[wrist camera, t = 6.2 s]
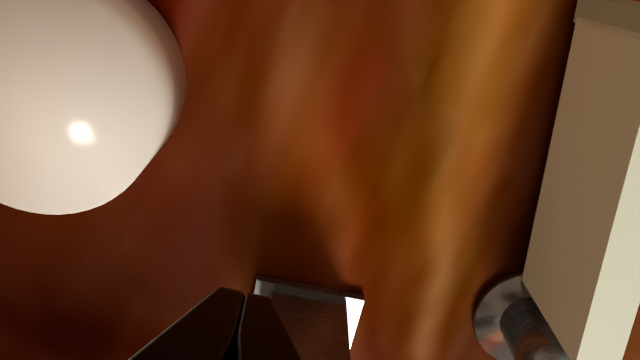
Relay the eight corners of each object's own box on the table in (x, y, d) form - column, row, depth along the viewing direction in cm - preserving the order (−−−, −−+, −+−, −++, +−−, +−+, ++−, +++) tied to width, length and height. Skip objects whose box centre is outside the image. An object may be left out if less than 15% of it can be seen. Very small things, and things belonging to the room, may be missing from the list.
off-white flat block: (555, 278, 22) (622, 373, 17) (520, 277, 22) (577, 371, 17) (621, -2, 18) (732, 17, 13) (578, -4, 18) (674, 14, 13)
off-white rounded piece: (174, 184, 21) (143, 234, 18) (-16, 146, 21) (-88, 189, 17) (200, -5, 19) (170, 7, 15) (-16, -54, 18) (-102, -55, 15)
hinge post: (556, 366, 24) (611, 463, 20) (458, 348, 24) (491, 443, 19) (596, 281, 23) (666, 365, 18) (492, 260, 22) (537, 341, 18)
